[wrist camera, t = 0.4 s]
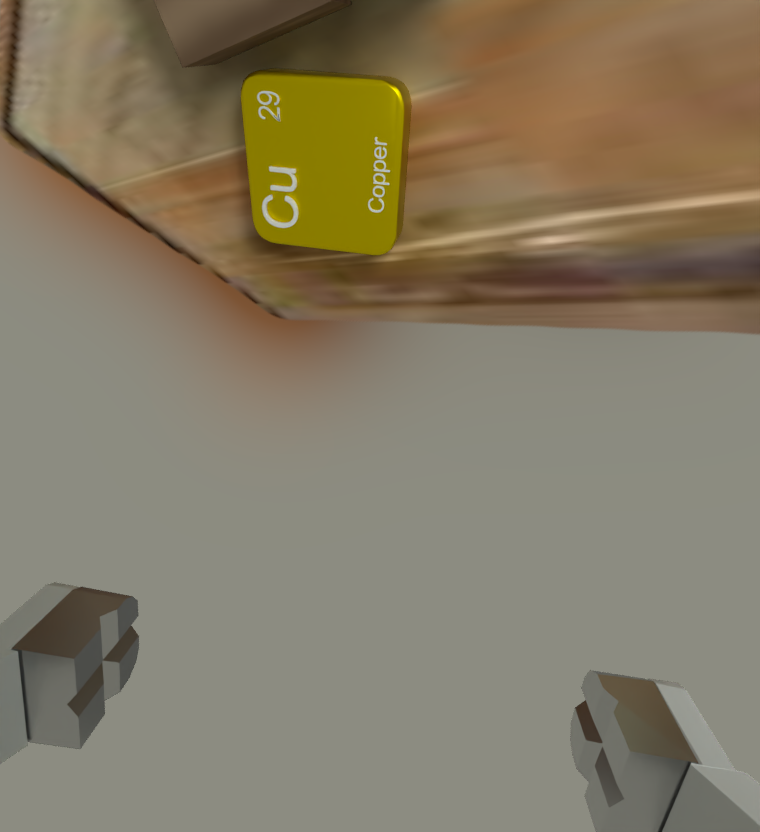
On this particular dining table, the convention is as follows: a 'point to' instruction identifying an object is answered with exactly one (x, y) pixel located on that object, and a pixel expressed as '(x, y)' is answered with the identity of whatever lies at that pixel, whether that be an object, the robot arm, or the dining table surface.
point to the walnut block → (234, 24)
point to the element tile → (327, 158)
